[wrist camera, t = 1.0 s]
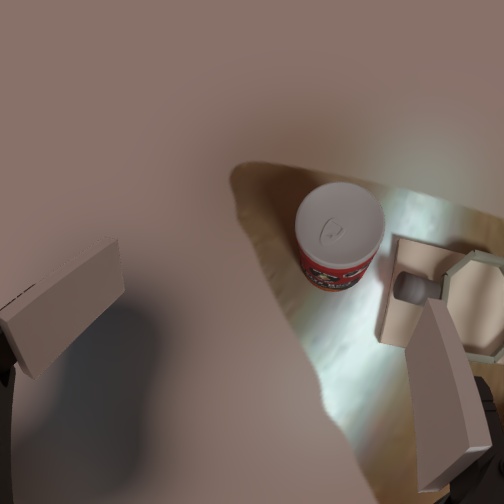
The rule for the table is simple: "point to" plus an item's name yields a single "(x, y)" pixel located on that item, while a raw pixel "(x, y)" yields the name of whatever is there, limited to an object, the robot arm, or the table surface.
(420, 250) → the plate
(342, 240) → the canned food
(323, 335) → the table surface
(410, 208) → the table surface
